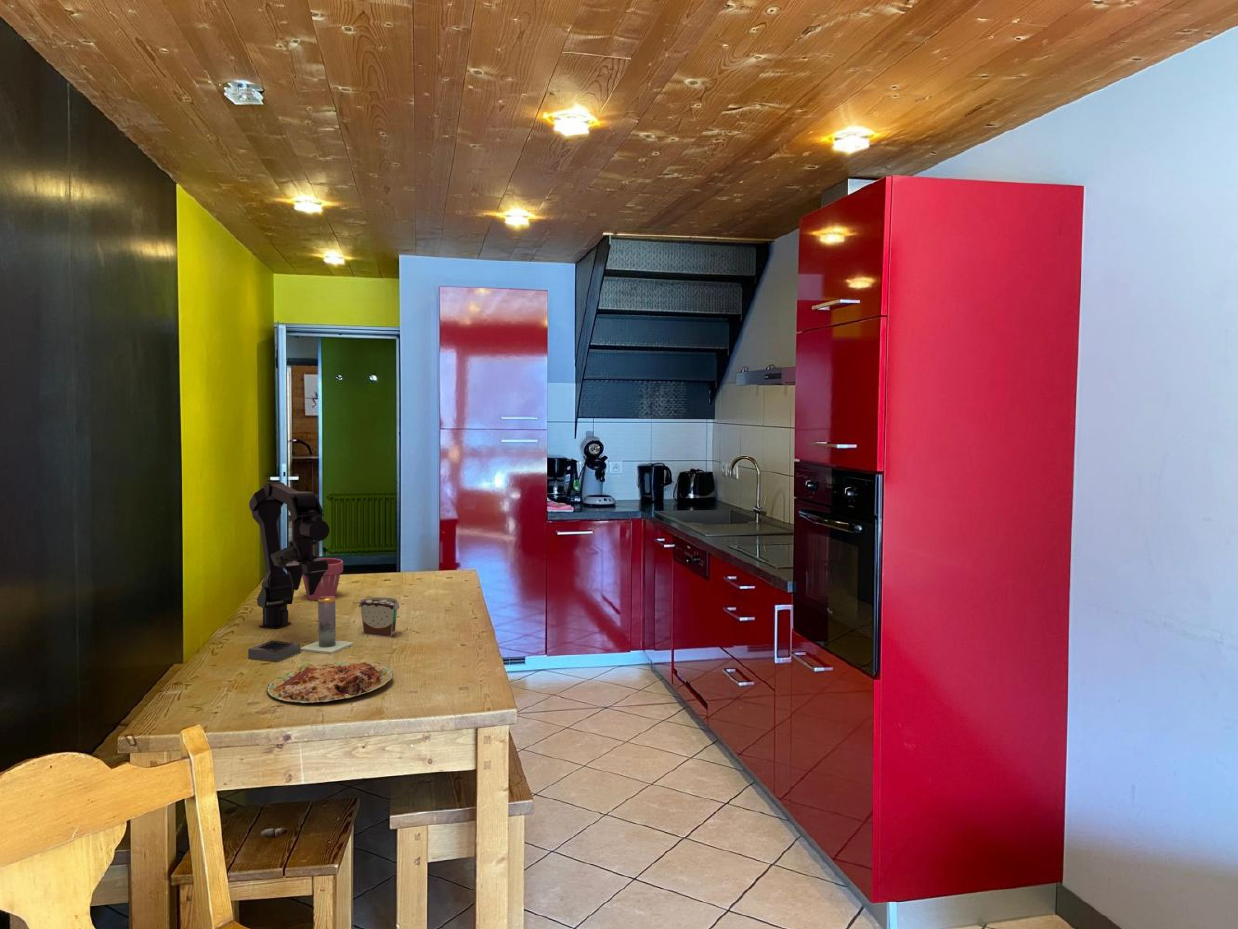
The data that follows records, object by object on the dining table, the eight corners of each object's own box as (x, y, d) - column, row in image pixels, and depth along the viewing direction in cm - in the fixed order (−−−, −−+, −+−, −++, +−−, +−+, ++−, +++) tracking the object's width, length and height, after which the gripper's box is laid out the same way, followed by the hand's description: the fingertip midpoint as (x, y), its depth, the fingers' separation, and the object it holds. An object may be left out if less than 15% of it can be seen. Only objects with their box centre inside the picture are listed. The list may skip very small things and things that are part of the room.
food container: (408, 633, 247) (408, 598, 246) (395, 638, 241) (395, 603, 241) (371, 629, 251) (371, 595, 250) (359, 634, 245) (358, 599, 245)
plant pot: (352, 597, 294) (352, 560, 293) (318, 604, 282) (318, 566, 282) (324, 592, 302) (324, 556, 301) (290, 599, 290) (290, 561, 289)
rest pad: (299, 650, 227) (299, 648, 227) (322, 641, 237) (322, 639, 237) (331, 654, 224) (331, 651, 224) (354, 644, 234) (354, 642, 234)
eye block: (248, 658, 220) (248, 649, 219) (272, 649, 228) (272, 640, 228) (277, 661, 217) (277, 652, 217) (300, 652, 226) (300, 643, 225)
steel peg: (316, 647, 228) (316, 599, 227) (320, 643, 233) (320, 596, 232) (333, 647, 229) (333, 599, 228) (337, 642, 233) (337, 595, 232)
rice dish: (267, 718, 181) (267, 694, 180) (265, 676, 206) (265, 654, 205) (402, 702, 192) (402, 679, 191) (384, 664, 217) (384, 643, 216)
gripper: (260, 536, 239) (260, 591, 240) (289, 543, 226) (290, 602, 227) (298, 532, 247) (299, 586, 248) (329, 539, 234) (329, 596, 235)
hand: (303, 592), depth 239 cm, fingers open, 9 cm apart
